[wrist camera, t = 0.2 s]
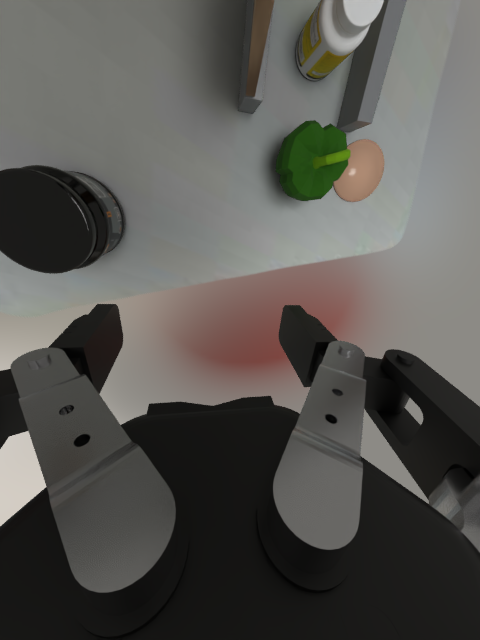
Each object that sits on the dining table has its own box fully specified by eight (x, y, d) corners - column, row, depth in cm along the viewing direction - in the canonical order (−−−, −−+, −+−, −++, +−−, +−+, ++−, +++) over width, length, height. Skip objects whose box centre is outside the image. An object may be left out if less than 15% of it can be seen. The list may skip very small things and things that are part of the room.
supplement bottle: (344, 53, 30) (404, -3, 21) (312, 93, 31) (356, 55, 23) (319, 5, 28) (374, -79, 19) (285, 51, 29) (323, -9, 21)
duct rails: (249, -34, 26) (260, -80, 21) (380, 7, 29) (413, -26, 24) (238, 110, 31) (244, 97, 27) (349, 132, 34) (371, 123, 30)
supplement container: (50, 249, 35) (-13, 273, 24) (35, 164, 30) (-51, 148, 20) (128, 258, 37) (101, 283, 27) (125, 180, 32) (91, 174, 22)
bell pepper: (262, 195, 36) (284, 196, 27) (273, 127, 32) (302, 103, 24) (314, 203, 38) (349, 206, 29) (329, 139, 34) (375, 121, 25)
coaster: (341, 135, 34) (343, 134, 34) (390, 144, 36) (392, 144, 35) (326, 198, 38) (327, 198, 37) (371, 204, 39) (372, 204, 39)
